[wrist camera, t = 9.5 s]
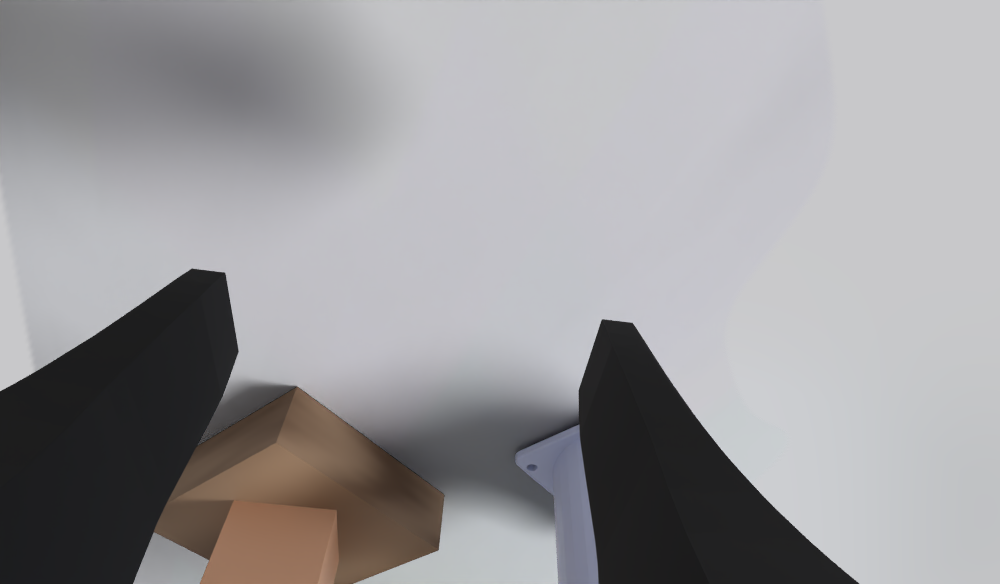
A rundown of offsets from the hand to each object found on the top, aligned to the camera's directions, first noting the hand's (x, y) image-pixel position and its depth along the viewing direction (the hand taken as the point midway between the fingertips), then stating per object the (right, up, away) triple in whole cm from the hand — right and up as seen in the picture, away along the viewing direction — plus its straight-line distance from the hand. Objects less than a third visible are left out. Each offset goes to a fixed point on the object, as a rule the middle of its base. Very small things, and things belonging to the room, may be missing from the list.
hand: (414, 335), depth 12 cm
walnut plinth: (-8, -9, +19) cm, 23 cm away
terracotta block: (-8, -10, +17) cm, 21 cm away
